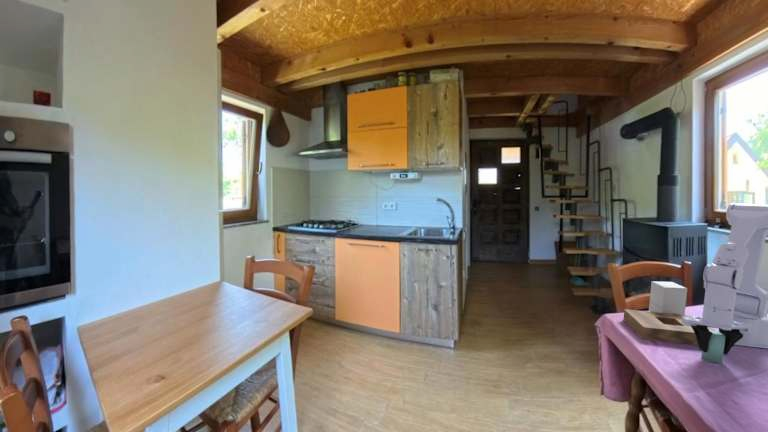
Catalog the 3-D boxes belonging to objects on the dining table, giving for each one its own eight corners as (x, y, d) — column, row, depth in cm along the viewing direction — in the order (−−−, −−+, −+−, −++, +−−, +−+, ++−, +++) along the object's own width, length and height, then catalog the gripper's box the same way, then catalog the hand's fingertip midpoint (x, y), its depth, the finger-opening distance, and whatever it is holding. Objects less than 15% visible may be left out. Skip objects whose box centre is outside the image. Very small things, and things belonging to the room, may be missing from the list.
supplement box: (684, 321, 108) (688, 288, 107) (661, 320, 110) (664, 287, 108) (669, 313, 116) (673, 281, 114) (647, 311, 117) (650, 280, 115)
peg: (715, 356, 87) (718, 330, 86) (726, 364, 84) (729, 337, 83) (698, 354, 89) (701, 329, 88) (708, 362, 85) (711, 335, 84)
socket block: (691, 326, 105) (692, 315, 104) (721, 348, 92) (723, 335, 91) (623, 319, 111) (624, 309, 110) (642, 338, 98) (644, 327, 97)
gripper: (695, 309, 83) (690, 355, 84) (765, 315, 78) (758, 364, 80) (679, 299, 89) (674, 342, 91) (743, 305, 85) (737, 349, 87)
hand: (712, 351), depth 86 cm, fingers closed on peg, 4 cm apart
